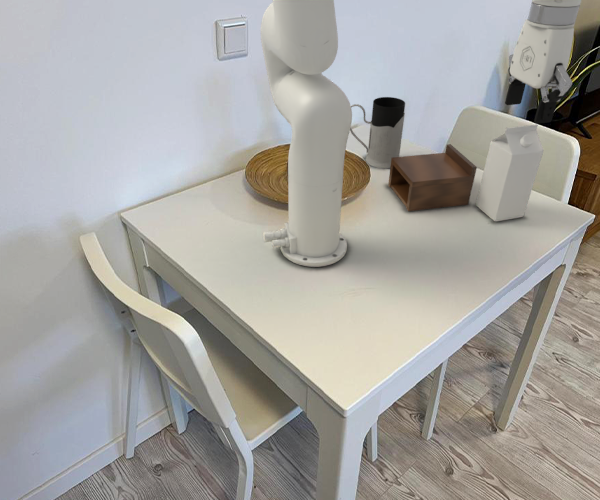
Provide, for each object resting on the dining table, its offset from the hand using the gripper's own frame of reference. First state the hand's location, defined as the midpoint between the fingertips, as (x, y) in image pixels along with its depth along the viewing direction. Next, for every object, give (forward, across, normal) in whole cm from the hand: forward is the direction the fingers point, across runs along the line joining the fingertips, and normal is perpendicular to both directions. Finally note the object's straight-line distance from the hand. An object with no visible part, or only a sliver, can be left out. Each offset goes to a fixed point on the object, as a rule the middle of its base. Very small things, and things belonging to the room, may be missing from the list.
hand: (526, 112), depth 97 cm
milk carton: (+22, 0, -1) cm, 22 cm away
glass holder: (+22, -30, -19) cm, 41 cm away
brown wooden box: (+22, -10, -13) cm, 27 cm away
